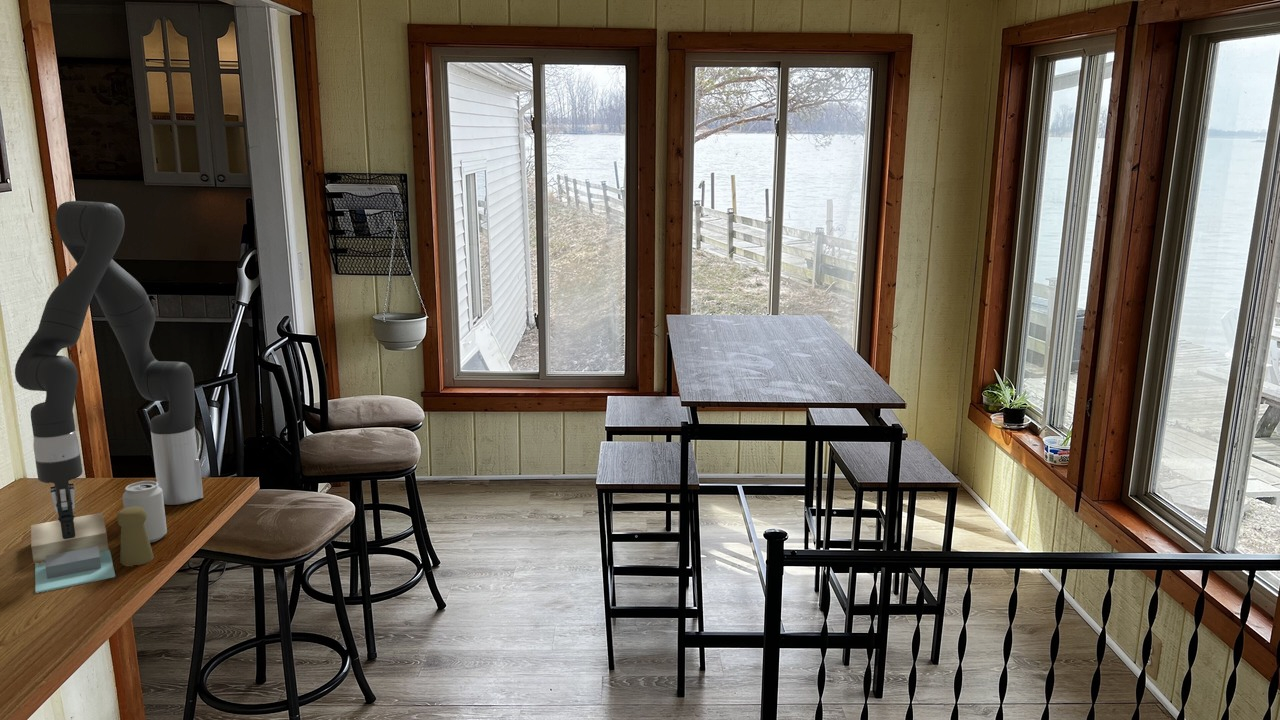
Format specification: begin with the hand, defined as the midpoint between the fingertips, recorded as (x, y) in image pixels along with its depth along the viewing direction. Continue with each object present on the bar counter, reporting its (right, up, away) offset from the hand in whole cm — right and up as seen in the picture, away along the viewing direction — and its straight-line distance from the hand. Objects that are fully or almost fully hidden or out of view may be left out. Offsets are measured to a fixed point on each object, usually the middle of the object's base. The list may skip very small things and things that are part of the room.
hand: (69, 537), depth 186 cm
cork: (+13, -5, +2) cm, 14 cm away
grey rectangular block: (+3, -4, -3) cm, 6 cm away
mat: (+3, -6, -4) cm, 8 cm away
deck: (-4, -3, +8) cm, 9 cm away
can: (+9, -3, +12) cm, 16 cm away
